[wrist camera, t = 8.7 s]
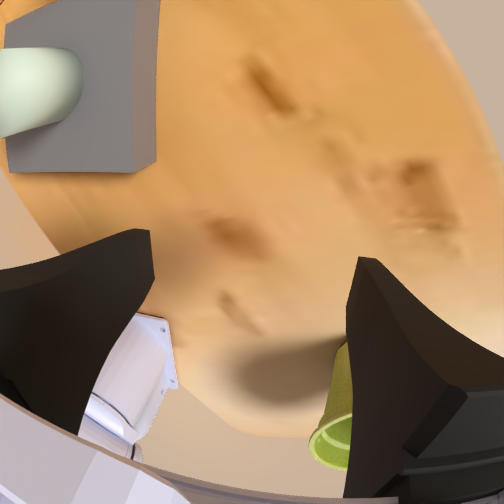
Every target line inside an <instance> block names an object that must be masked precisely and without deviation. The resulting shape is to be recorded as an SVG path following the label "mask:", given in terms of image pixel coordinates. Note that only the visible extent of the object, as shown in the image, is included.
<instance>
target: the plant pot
mask: <svg viewBox="0 0 504 504" xmlns="http://www.w3.org/2000/svg"><path fill="white" fill-rule="evenodd" d="M352 406H353V391H352V378H351V369H350V361H349V352H348V344H347V342H346V343H345V344H344V345H343V346H342V347H341V348H339V349H338V351H337V353H336V355H335V361H334V366H333V372H332V379H331V384H330V389H329V394H328V399H327V403H326V408H325V412H324V415H323V417H322V418H321V420H320V422H319V425H318V428H317V429H316V430H315V431H314V432H313V434H312V435H311V437H310V440H309V451H310V453H311V455H312V457H313V458H314V459H316V460H317V461H318V462H320V463H322V464H323V465H326V466H328V467H331V468H335V469H339V470H345V471H347V468H348V460H349V452H350V441H351V427H352Z"/></svg>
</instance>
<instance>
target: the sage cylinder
mask: <svg viewBox="0 0 504 504" xmlns="http://www.w3.org/2000/svg"><path fill="white" fill-rule="evenodd" d="M83 83H84V75H83V68H82V65H81V62H80V60H79V58H78V57H77V55H76V54H75V53H74V52H73V51H71V50H69V49H67V48H8V49H0V139H1V138H4V137H7V136H10V135H13V134H16V133H19V132H23V131H26V130H29V129H33V128H36V127H40V126H43V125H47V124H51V123H55V122H58V121H61V120H63V119H65V118H67V117H68V116H69V115H70V114H71V113H72V112H73V111H74V109H75V108H76V106H77V104H78V102H79V100H80V97H81V94H82V90H83Z"/></svg>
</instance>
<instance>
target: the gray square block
mask: <svg viewBox="0 0 504 504" xmlns="http://www.w3.org/2000/svg"><path fill="white" fill-rule="evenodd" d="M159 10H160V0H58V1H56V2H53V3H51V4H48V5H46V6H44V7H41V8H39V9H37V10H35V11H32V12H30V13H28V14H26V15H24V16H22V17H20V18H18V19H16V20H14V21H12V22H10V23H8V24H6V28H5V39H4V49H8V48H67V49H69V50H71V51H73V52H74V53H75V54H76V55H77V57H78V58H79V60H80V62H81V65H82V68H83V75H84V83H83V90H82V94H81V97H80V100H79V102H78V104H77V106H76V108H75V109H74V111H73V112H72V113H71V114H70V115H69V116H68V117H67V118H65V119H63V120H61V121H58V122H55V123H51V124H47V125H43V126H40V127H36V128H33V129H29V130H26V131H23V132H19V133H16V134H13V135H10V136H7V137H5V140H6V150H7V158H8V166H9V173H24V172H118V173H135V172H137V171H139V170H141V169H143V168H144V167H146V166H148V165H150V164H152V163H154V162H156V61H157V40H158V23H159Z"/></svg>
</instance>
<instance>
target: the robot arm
mask: <svg viewBox="0 0 504 504" xmlns="http://www.w3.org/2000/svg"><path fill="white" fill-rule="evenodd" d="M154 280H155V276H154V268H153V259H152V250H151V240H150V230H144V229H130V230H126V231H123V232H120V233H117V234H114V235H112V236H109V237H107V238H104V239H101V240H99V241H96V242H94V243H91V244H89V245H86V246H84V247H81V248H78V249H76V250H73V251H70V252H68V253H65V254H62V255H59V256H56V257H53V258H50V259H47V260H43V261H40V262H36V263H33V264H28V265H23V266H19V267H14V268H9V269H3V270H0V504H504V358H503V357H501V356H499V355H497V354H495V353H493V352H491V351H490V350H488V349H486V348H484V347H482V346H480V345H479V344H477V343H475V342H474V341H472V340H470V339H469V338H467V337H466V336H464V335H463V334H461V333H460V332H458V331H457V330H455V329H454V328H452V327H451V326H450V325H448V324H447V323H446V322H444V321H443V320H442V319H440V318H439V317H438V316H437V315H435V314H434V313H433V312H432V311H430V310H429V309H428V308H427V307H426V306H425V305H424V304H423V303H421V302H420V301H419V300H418V299H417V298H416V297H415V296H414V295H413V294H412V293H411V292H410V291H409V290H408V289H407V288H406V287H405V286H404V285H403V284H402V283H401V282H400V281H399V280H398V279H397V278H396V277H395V276H394V275H393V274H392V273H391V272H390V271H389V270H388V269H387V268H386V267H385V266H384V265H383V264H382V263H381V262H380V261H378V260H377V259H375V258H367V257H360V256H359V257H358V261H357V265H356V269H355V274H354V278H353V282H352V286H351V290H350V293H349V297H348V301H347V305H346V336H347V344H348V352H349V361H350V369H351V378H352V391H353V406H352V427H351V441H350V452H349V460H348V468H347V476H346V482H345V489H344V494H343V498H319V497H304V496H291V495H282V494H274V493H266V492H259V491H252V490H246V489H240V488H235V487H229V486H224V485H220V484H215V483H211V482H206V481H202V480H198V479H194V478H189V477H186V476H182V475H178V474H175V473H171V472H168V471H165V470H161V469H158V468H155V467H152V466H148V465H146V464H143V455H142V449H141V447H140V446H139V445H138V444H136V443H135V441H137V440H139V439H141V438H142V437H143V436H144V435H145V434H146V433H147V432H148V431H149V429H150V427H151V425H152V422H153V420H154V418H155V416H156V414H157V411H158V409H159V407H160V405H161V403H162V401H163V398H164V396H165V394H166V392H167V390H168V388H169V389H173V390H176V389H178V386H179V385H178V379H177V374H176V368H175V362H174V356H173V349H172V343H171V336H170V329H169V323H168V322H167V320H165V319H163V318H158V317H153V316H149V315H144V314H140V313H136V312H137V311H138V309H139V308H140V306H141V305H142V303H143V302H144V300H145V298H146V296H147V294H148V292H149V290H150V288H151V286H152V284H153V282H154ZM163 328H164V329H163Z"/></svg>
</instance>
